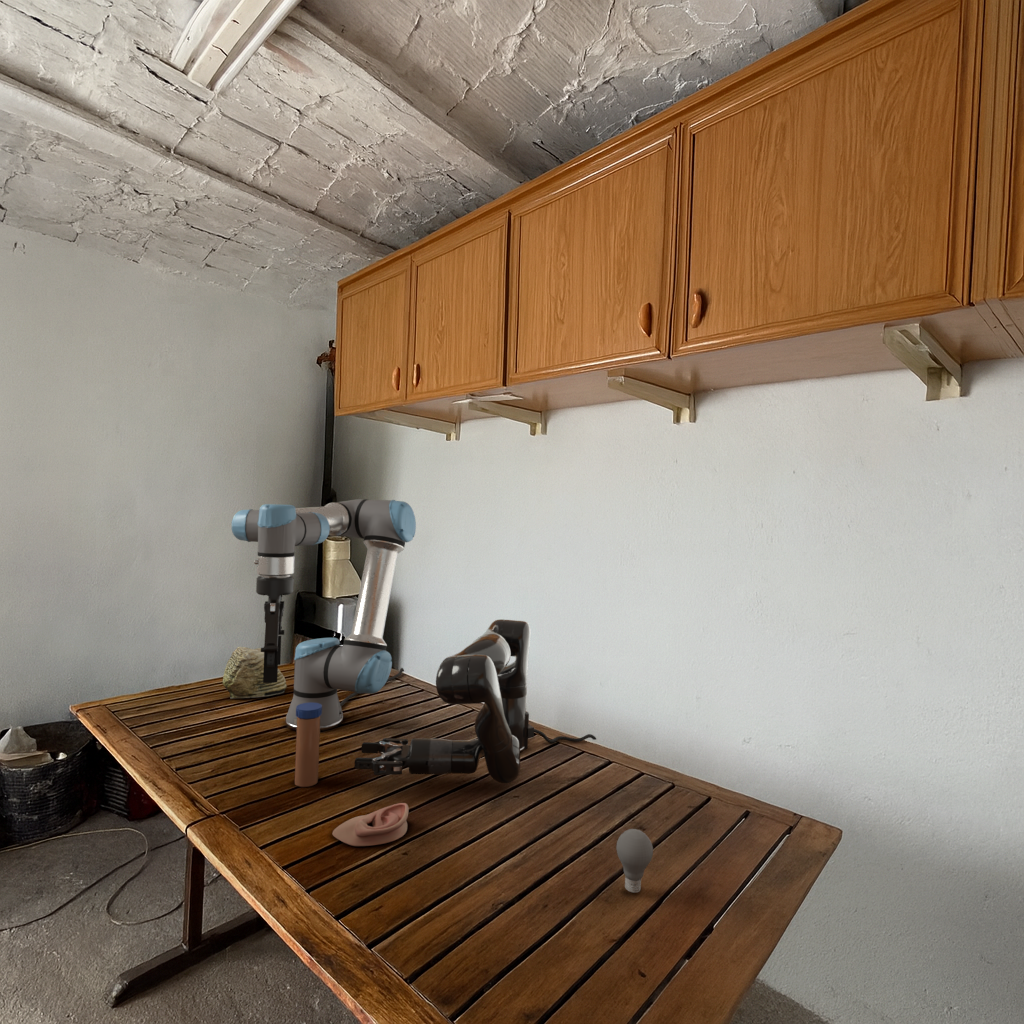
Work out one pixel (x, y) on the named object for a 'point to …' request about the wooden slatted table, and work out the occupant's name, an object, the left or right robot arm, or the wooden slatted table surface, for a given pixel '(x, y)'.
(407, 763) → the right robot arm
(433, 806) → the wooden slatted table surface
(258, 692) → the fossil
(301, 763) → the brown tall cylinder
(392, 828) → the anatomical model
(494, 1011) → the wooden slatted table surface
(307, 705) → the lid
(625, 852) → the light bulb
